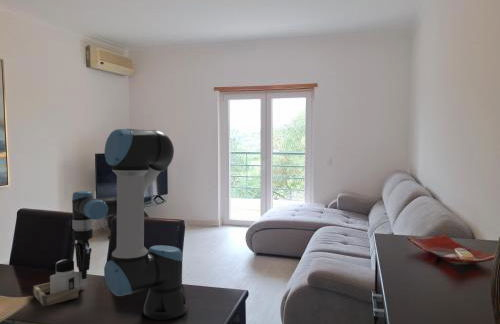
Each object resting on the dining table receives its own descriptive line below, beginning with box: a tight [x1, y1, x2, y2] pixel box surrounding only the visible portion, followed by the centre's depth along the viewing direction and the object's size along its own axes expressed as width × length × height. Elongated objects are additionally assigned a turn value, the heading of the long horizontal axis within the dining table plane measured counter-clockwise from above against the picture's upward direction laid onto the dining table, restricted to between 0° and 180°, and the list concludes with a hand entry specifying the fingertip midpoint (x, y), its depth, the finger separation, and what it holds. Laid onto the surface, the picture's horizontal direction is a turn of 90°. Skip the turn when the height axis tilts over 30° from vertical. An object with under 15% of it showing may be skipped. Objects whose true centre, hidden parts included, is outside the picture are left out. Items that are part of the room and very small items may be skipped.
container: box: [49, 258, 81, 294], centre depth 147 cm, size 8×8×13 cm
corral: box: [32, 281, 79, 307], centre depth 144 cm, size 14×12×4 cm
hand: (82, 285), depth 151 cm, fingers closed
